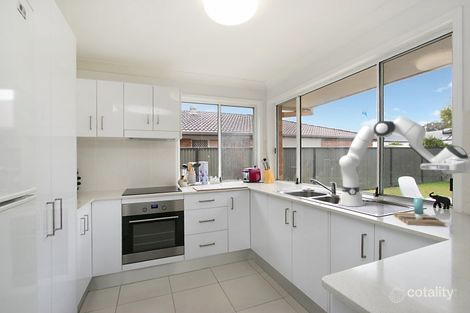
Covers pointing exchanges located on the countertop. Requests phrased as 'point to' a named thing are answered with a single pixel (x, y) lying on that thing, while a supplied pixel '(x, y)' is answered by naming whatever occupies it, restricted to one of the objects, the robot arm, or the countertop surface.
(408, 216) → the board
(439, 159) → the robot arm
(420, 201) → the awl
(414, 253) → the countertop surface
